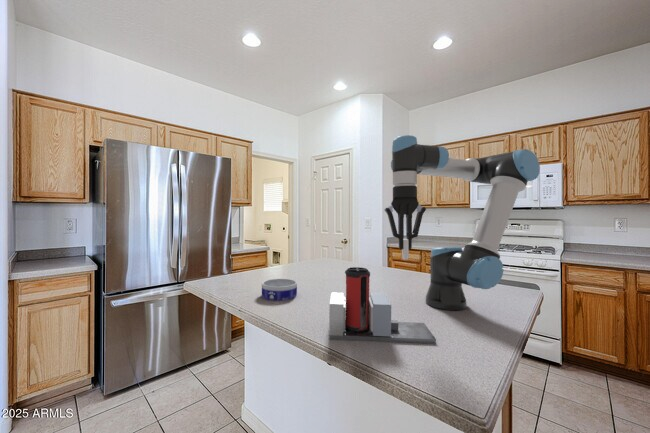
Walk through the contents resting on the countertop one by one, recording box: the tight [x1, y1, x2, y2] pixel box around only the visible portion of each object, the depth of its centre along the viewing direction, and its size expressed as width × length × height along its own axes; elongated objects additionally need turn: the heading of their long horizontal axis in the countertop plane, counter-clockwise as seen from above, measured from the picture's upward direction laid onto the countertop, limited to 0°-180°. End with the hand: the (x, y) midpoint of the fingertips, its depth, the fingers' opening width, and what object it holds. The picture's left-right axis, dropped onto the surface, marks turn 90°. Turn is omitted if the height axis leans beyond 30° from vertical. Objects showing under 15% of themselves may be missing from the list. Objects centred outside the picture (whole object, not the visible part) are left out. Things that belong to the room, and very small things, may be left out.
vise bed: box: [328, 321, 437, 344], centre depth 87 cm, size 30×12×1 cm, turn 86°
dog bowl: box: [261, 278, 298, 302], centre depth 124 cm, size 15×15×6 cm
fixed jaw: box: [328, 291, 346, 336], centre depth 88 cm, size 5×12×9 cm, turn 176°
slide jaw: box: [369, 292, 399, 336], centre depth 87 cm, size 9×12×9 cm
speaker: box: [344, 266, 371, 332], centre depth 87 cm, size 8×8×18 cm
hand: (405, 259), depth 91 cm, fingers closed
